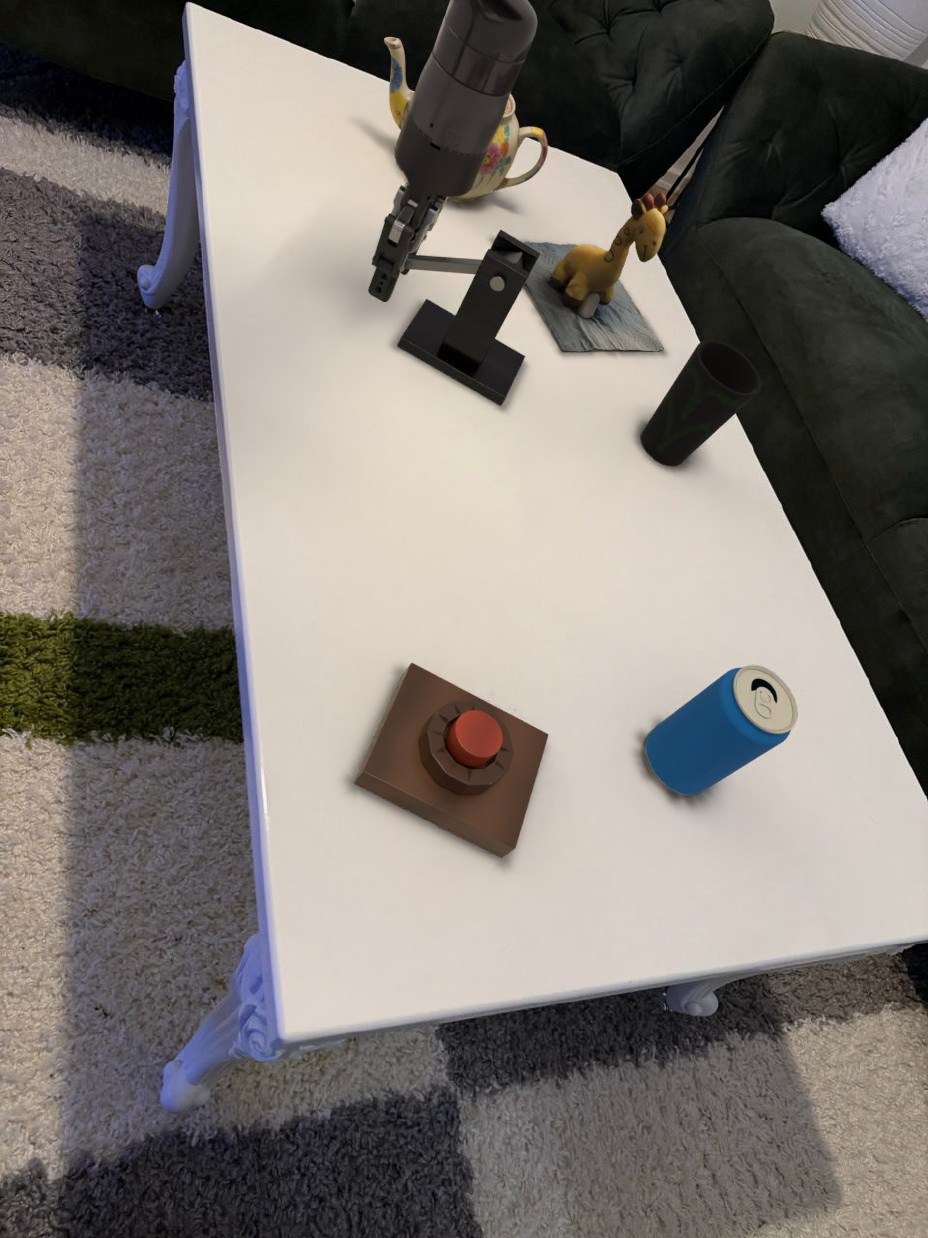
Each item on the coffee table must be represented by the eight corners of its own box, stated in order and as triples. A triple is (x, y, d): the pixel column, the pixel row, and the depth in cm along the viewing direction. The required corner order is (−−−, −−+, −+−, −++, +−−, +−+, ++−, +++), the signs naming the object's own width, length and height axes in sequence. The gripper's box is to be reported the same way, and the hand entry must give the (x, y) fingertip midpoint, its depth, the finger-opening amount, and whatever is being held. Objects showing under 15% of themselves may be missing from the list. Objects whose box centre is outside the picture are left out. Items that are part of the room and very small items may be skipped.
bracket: (396, 346, 88) (443, 238, 79) (422, 306, 94) (469, 200, 84) (500, 406, 90) (559, 307, 80) (520, 364, 95) (578, 266, 85)
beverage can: (709, 745, 77) (803, 681, 68) (703, 811, 73) (802, 752, 64) (645, 715, 76) (732, 646, 67) (636, 779, 72) (727, 715, 63)
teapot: (497, 163, 116) (543, 62, 106) (522, 230, 110) (574, 129, 100) (352, 123, 107) (387, 8, 97) (370, 193, 101) (410, 78, 91)
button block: (353, 783, 62) (371, 761, 59) (401, 675, 68) (419, 650, 65) (502, 858, 63) (527, 840, 60) (536, 745, 70) (560, 724, 67)
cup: (627, 413, 98) (690, 330, 89) (684, 429, 101) (751, 351, 92) (638, 465, 94) (705, 383, 85) (697, 480, 97) (769, 403, 87)
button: (439, 752, 61) (448, 742, 60) (455, 712, 64) (464, 701, 62) (484, 775, 62) (494, 766, 61) (498, 734, 64) (508, 724, 63)
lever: (382, 284, 86) (379, 259, 84) (400, 260, 89) (397, 236, 87) (513, 294, 82) (512, 270, 81) (526, 269, 85) (526, 245, 84)
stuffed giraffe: (562, 350, 99) (640, 226, 87) (493, 245, 106) (557, 116, 94) (661, 353, 108) (743, 241, 96) (591, 256, 115) (661, 140, 103)
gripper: (439, 70, 79) (380, 231, 92) (383, 128, 70) (326, 298, 83) (512, 115, 80) (443, 269, 93) (465, 178, 71) (396, 339, 84)
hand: (388, 282), depth 88 cm, fingers closed on lever, 5 cm apart
